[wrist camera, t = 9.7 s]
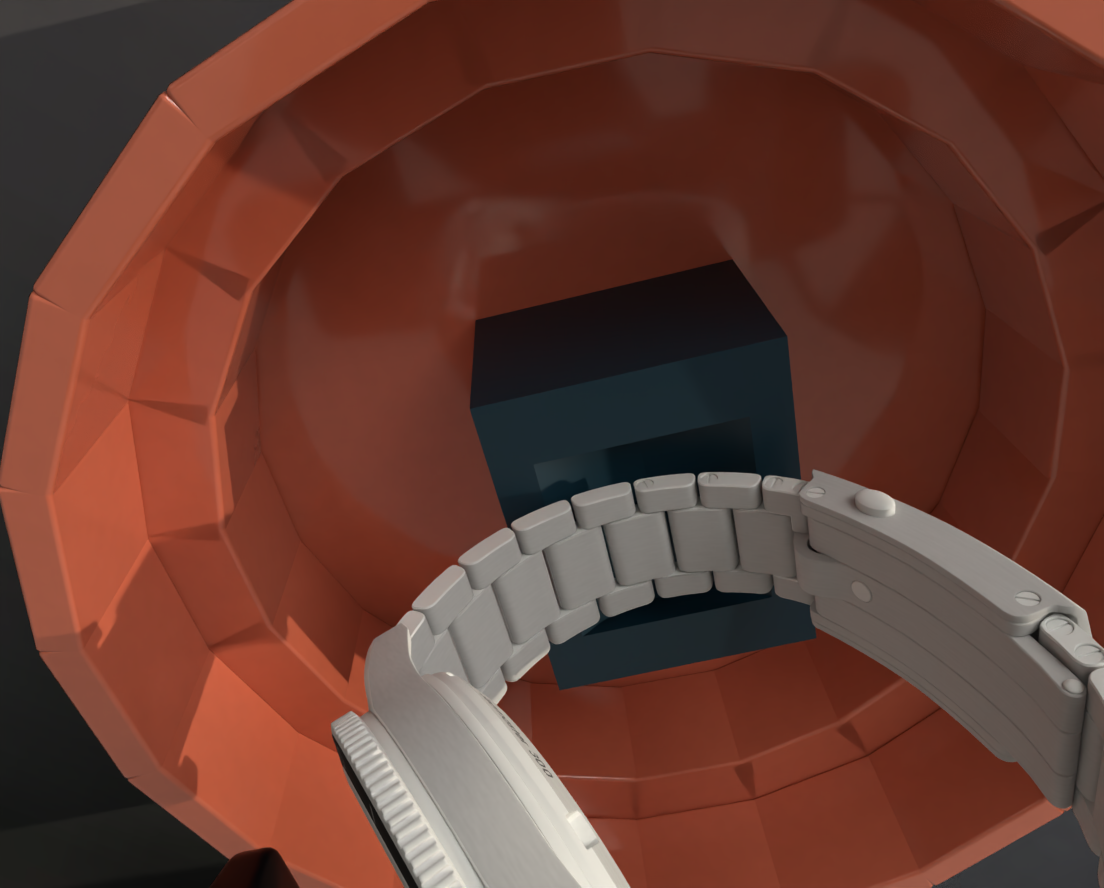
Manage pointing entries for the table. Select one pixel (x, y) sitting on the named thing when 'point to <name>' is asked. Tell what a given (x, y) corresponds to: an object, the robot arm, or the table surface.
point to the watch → (679, 582)
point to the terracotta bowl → (445, 387)
